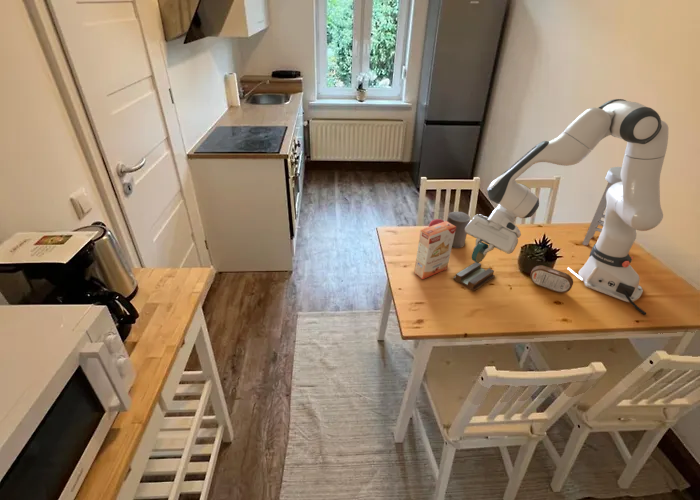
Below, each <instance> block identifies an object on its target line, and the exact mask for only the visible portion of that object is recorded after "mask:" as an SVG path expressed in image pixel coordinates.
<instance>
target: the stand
mask: <svg viewBox="0 0 700 500" xmlns="http://www.w3.org/2000/svg"><path fill="white" fill-rule="evenodd" d="M494 273H495V270H494V269H492V268H490V267H489V268H487V269H485V268H482V263H481V262H479V263H476V262H473V263H471V264H470V265H468V266H467V267H465V268H464V269H462V270H460V271H459V272H457V273H455V276H453V277H452V279H453V280H454V281H456V282H458V283H459V284H461V285H463V286H464V287H466V288H468V289H470V290H471V291H472V292H476V291H477V290H478V289H480V288H481V287H482V286H484V285H485V284H487V283H489V282H490V281H492V280H493V279H494V278H495V275H494Z"/></svg>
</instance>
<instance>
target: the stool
mask: <svg viewBox="0 0 700 500" xmlns="http://www.w3.org/2000/svg"><path fill="white" fill-rule="evenodd" d="M621 169H622V166H613V167H610V168H609V169H608V170H607V173H606V175H605V177H604V179H605V181H607V185H606V187H605V189H604V192H603V194H602V196H601V199H600V200H599V203H598V205H597V208H596V210H595V213H594V215H593V217H592V219H591V221H590V225H589V227H588V229H587V231H586V234H585V236H584V239H583V241H582V243H581V244H582V245H583V246H588V245H589V244H590V241H591V239H593V238H594V236H595V234H596V232H599V233H601V231H602V228H600V227H599V226H601V227H603V224H604V220H602V218H603V219H605V214H604V213H605V212H606V206H607V200H606V193H607V190H608V189H609V188H610V187H611V186H612V185H613V184H615V183H618V182H622V180H621Z"/></svg>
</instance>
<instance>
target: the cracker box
mask: <svg viewBox="0 0 700 500" xmlns="http://www.w3.org/2000/svg"><path fill="white" fill-rule="evenodd" d="M455 231H456V226H454V225H452V224H451V223H449V222H447V220H444V222H442V223H439V224H436V225H433V226H430V227H429V226H428V227H424V228H421V229H420V232H419V239H418V245H417V251H416V258H415V264H414V271H413V273H414V274H415V275H417V277H419V278H420V279H422V280H425V279H428V278H429V277H432V276H434V275H436V274H439V273H441V272H444V271H446V270H447V269H448V266H449V262H450V257H451V253H452V248H453V247H452V244H453V240H454V235H455Z"/></svg>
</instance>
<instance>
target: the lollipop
mask: <svg viewBox="0 0 700 500" xmlns="http://www.w3.org/2000/svg"><path fill="white" fill-rule="evenodd" d="M442 222H445V220H443V219H441V218H434V219H433V220H431V221H430V222H429V224H428V227H430V226H433V225H436V224H439V223H442Z"/></svg>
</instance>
